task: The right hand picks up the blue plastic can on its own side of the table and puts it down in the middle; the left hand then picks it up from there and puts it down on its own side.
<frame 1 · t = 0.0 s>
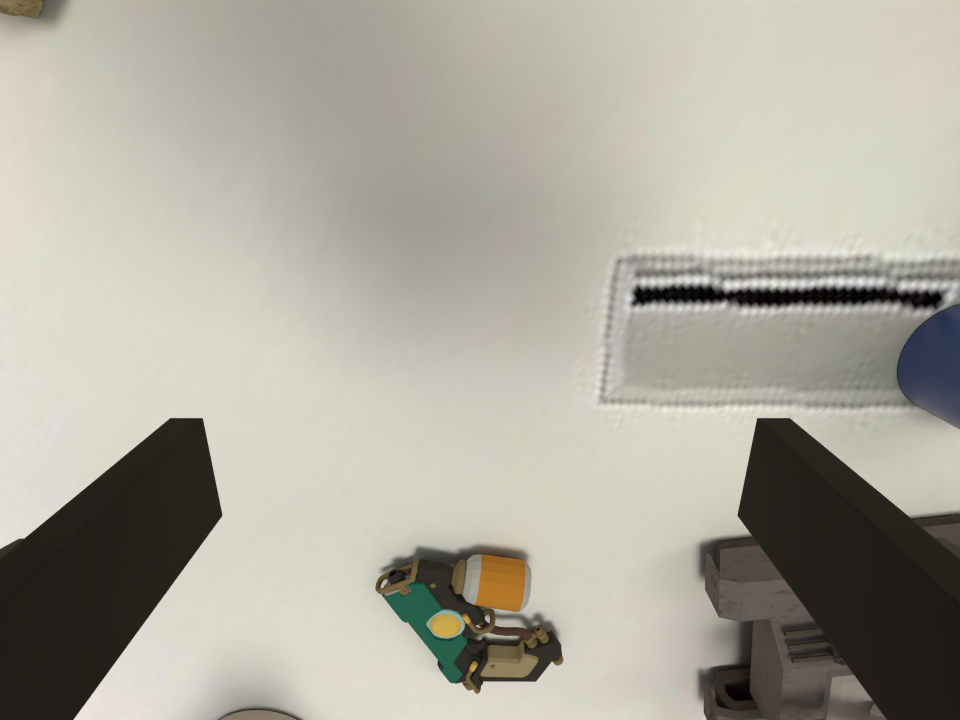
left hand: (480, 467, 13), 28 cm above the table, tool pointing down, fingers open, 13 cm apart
toy: (830, 609, 51), on the table
spray gun: (473, 608, 51), on the table
can: (956, 358, 42), on the table
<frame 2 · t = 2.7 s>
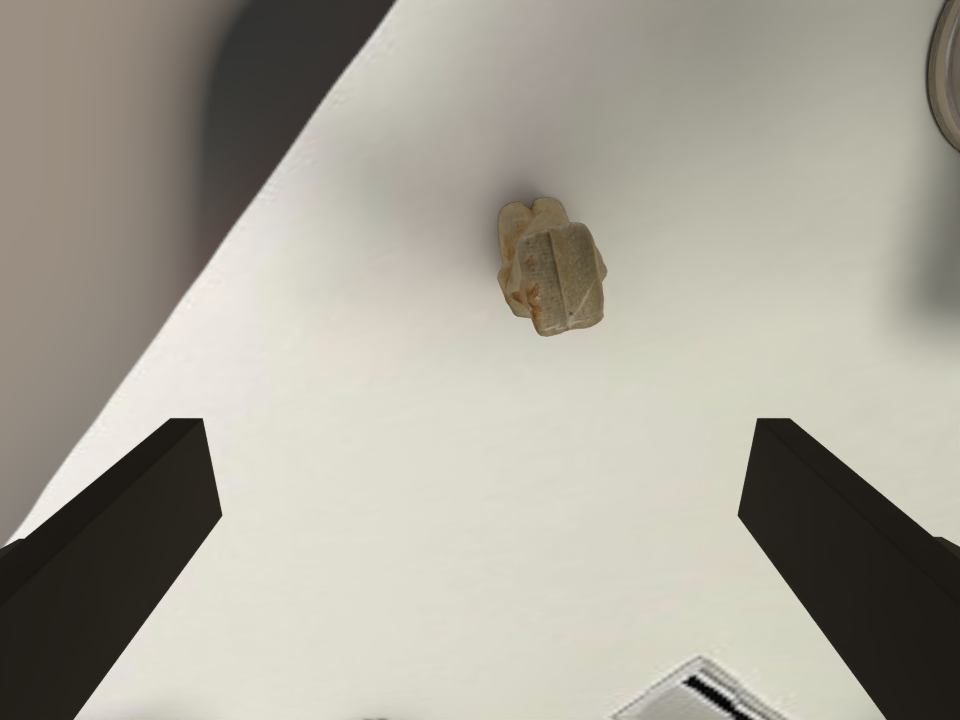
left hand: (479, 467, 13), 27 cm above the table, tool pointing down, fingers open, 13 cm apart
sculpture: (534, 249, 38), on the table
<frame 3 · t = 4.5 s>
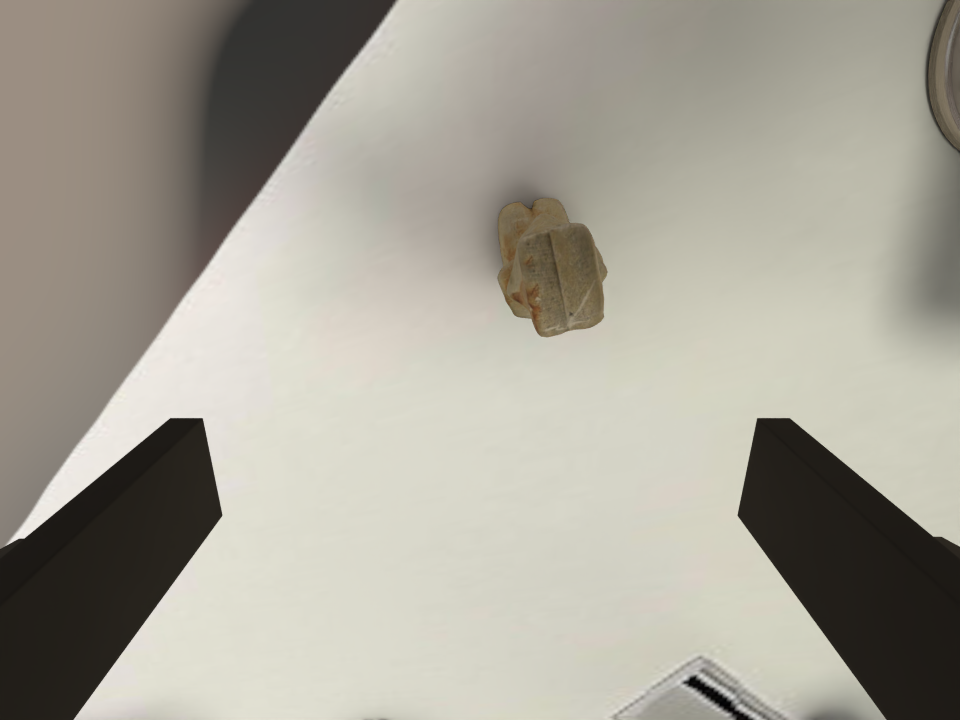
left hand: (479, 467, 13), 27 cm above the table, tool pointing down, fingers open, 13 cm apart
sculpture: (534, 249, 38), on the table
when the right hand's fingers open (6 cm above the table, at t = 6.4 s): can drops 1 cm, on the table.
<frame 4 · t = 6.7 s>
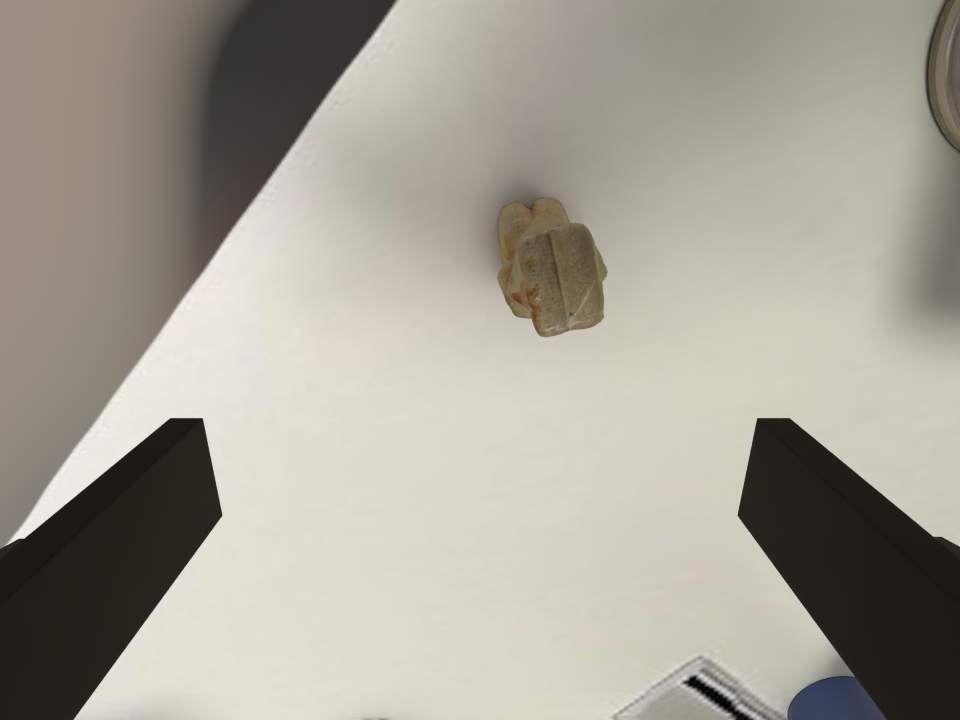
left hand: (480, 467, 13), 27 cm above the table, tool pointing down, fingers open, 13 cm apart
can: (832, 708, 54), on the table
sculpture: (534, 249, 38), on the table
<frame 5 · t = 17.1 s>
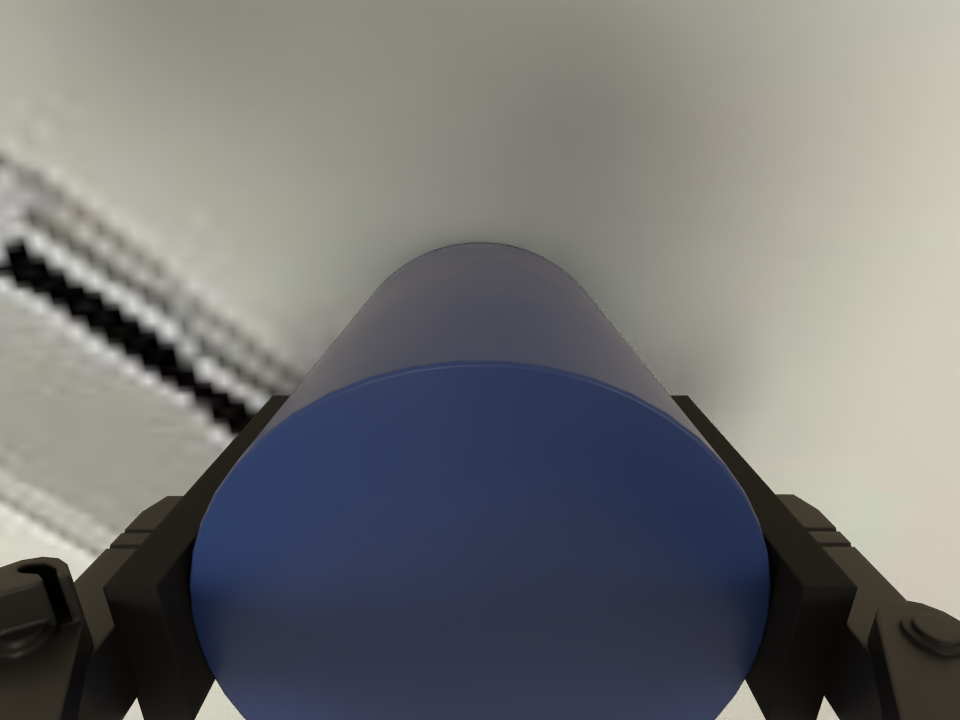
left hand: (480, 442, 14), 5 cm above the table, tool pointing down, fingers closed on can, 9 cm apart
can: (480, 374, 18), on the table, touching left hand
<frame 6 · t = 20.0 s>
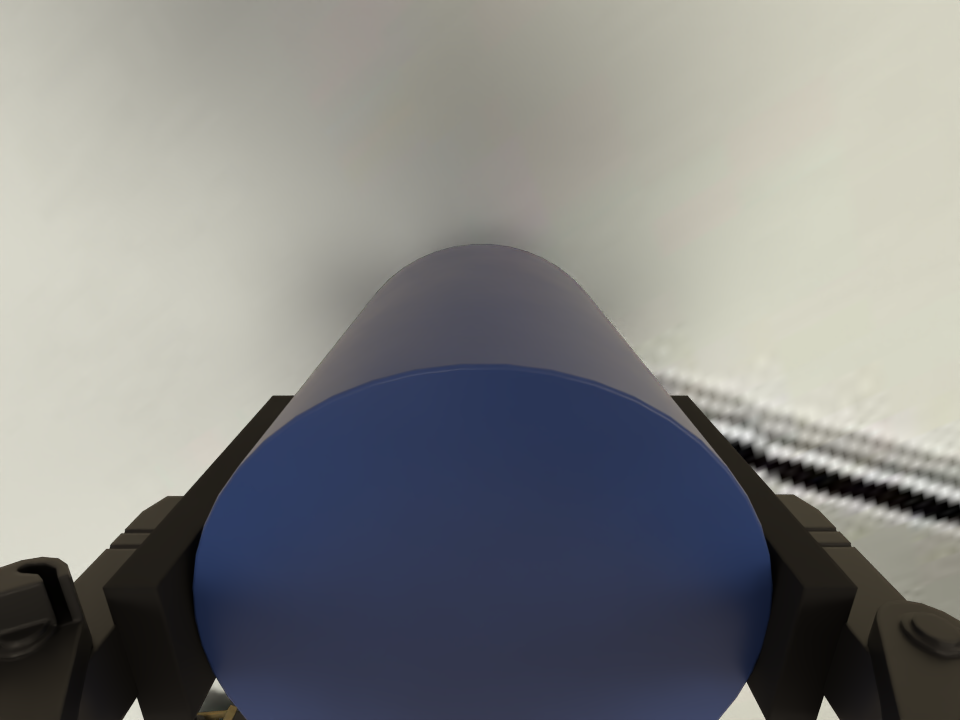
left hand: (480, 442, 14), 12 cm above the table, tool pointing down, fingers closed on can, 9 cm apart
can: (481, 375, 18), point 7 cm above the table, touching left hand
when the left hand's fingers open (6 cm above the table, at t = 22.9 s): can drops 1 cm, on the table.
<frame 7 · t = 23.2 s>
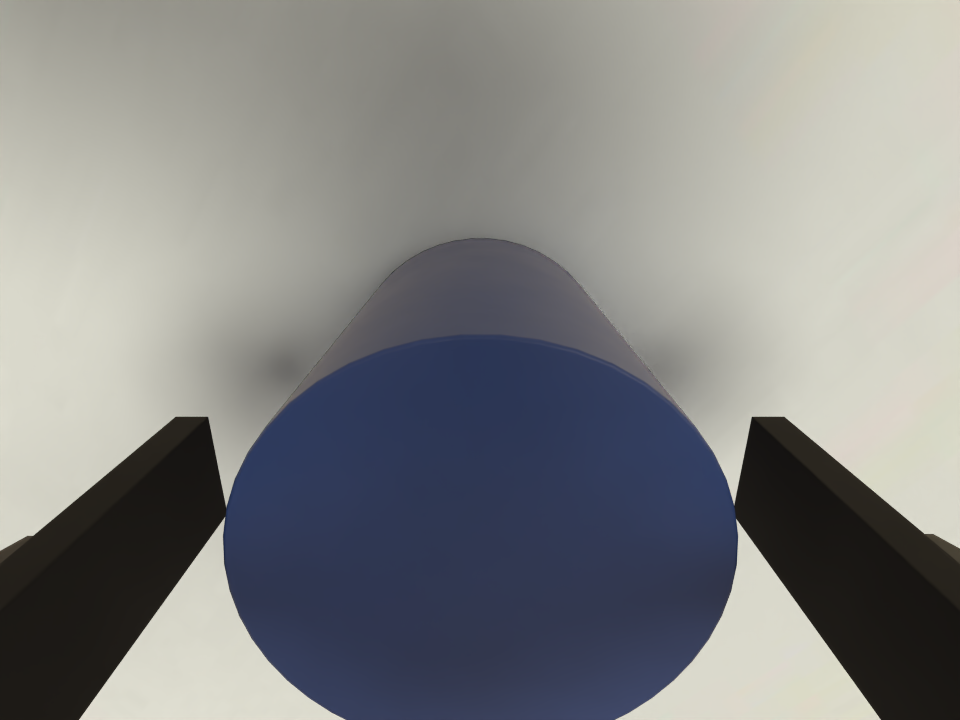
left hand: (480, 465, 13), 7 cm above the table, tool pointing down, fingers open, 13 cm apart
can: (480, 363, 19), on the table
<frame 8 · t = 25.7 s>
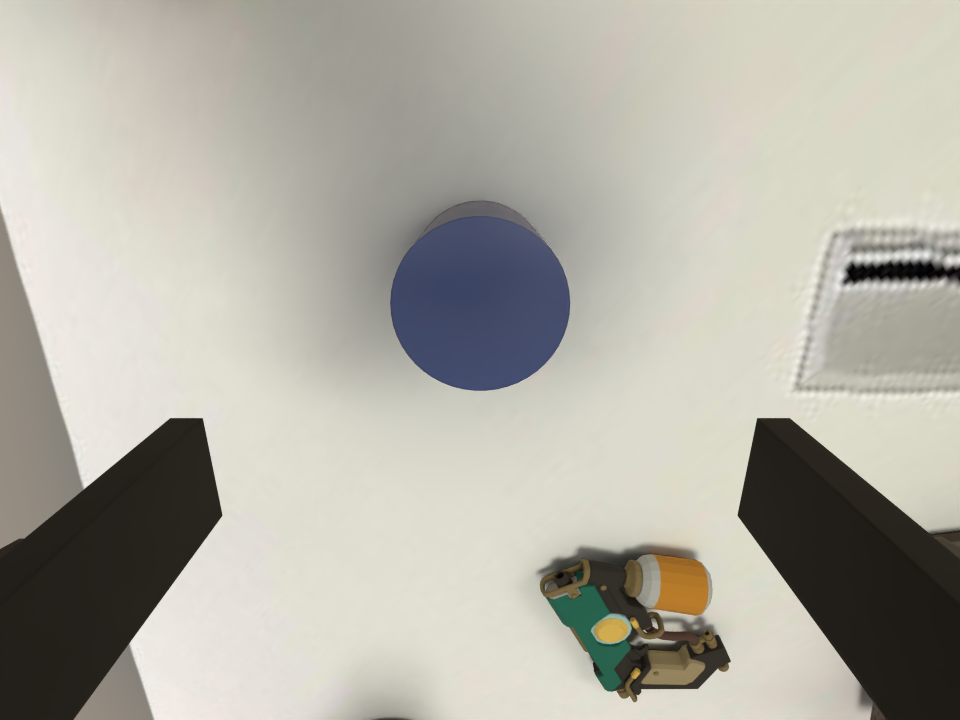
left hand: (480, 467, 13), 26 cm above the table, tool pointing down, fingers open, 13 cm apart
spray gun: (632, 611, 48), on the table
can: (480, 268, 37), on the table
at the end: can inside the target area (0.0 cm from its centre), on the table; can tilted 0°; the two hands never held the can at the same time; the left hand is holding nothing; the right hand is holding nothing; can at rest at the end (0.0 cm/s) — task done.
